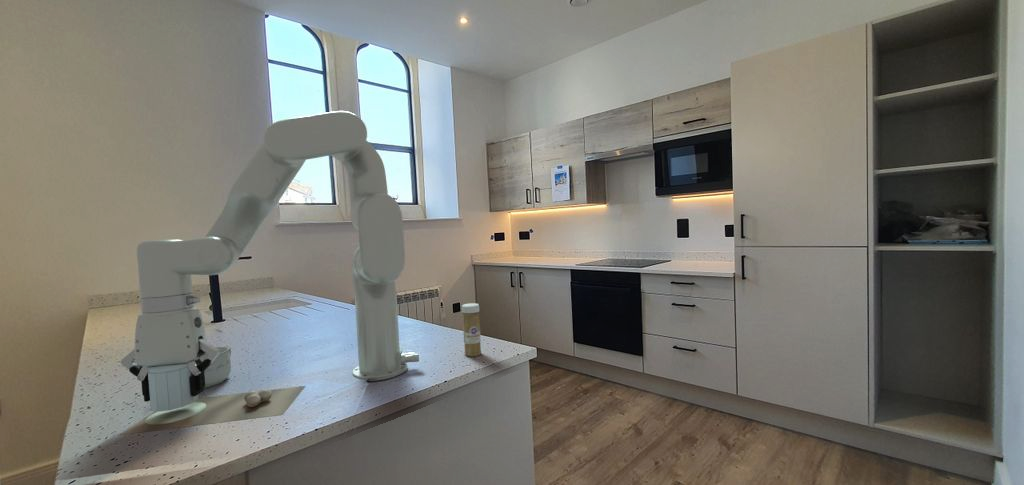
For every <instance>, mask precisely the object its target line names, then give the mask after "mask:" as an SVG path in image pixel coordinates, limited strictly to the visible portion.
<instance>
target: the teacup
mask: <svg viewBox="0 0 1024 485" xmlns="http://www.w3.org/2000/svg"><path fill="white" fill-rule="evenodd" d="M215 347H216V348H218V349H219V350H220V351H221V352H220V354H219V355H218V356H217V357H216V359H215V360H214V361H213V363H212V364H211V365H210V366H209V367H208V368H207V369H206V370H205V371H204V374H205V388H204V389H206V388H211V387H214V386H217V385H218V384H221V383H223V382H224V381H225V380H226V379H227V378H228V377H229V376H230V374H231V371H232V363H231V362H232V361H231V355H232V349H231V347H230V346H229V345H228V344H222V345H219V346H215ZM207 356H208V354H205V355H203V356H201V359H202V360H203V361H204V360H205V359H206V357H207Z"/></svg>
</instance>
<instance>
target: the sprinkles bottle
mask: <svg viewBox="0 0 1024 485" xmlns="http://www.w3.org/2000/svg"><path fill="white" fill-rule="evenodd" d="M461 310H462V311H461V312H462V319H463V324H462V326H463V327H462V328H463V330H462V331H463V343H464V355H465V356H466V357H477V356H480V355H481V354H482V351H481V350H482V349H481V347H482V346H481V323H480V305H479V303H473V302H472V303H465V304H462V305H461Z"/></svg>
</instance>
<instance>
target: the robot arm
mask: <svg viewBox="0 0 1024 485" xmlns="http://www.w3.org/2000/svg"><path fill="white" fill-rule="evenodd" d="M262 138H263V140H262V142H261V144H260V145H259V147H258V148H257V150H256V151H255V152H254V153H253V156H252V157H251V158H250V160H249V161H248V162H247V164H246V166H245V167H244V168H243V170H242V171H241V172H240V174H239V175H238V176H237V177H236V179H234V180H235V181H234V182H233V184H232V186H231V188H230V189H229V193H228V197H227V200H226V202H225V206H224V207H223V209H222V211H221V213H220V214H219V216H217V219H216V220H215V222H214V224H213V225H212V226H211V227H210V230H209V231H208V232H207V233H206V235H205V236H203V237H199V238H192V239H175V238H174V239H149V240H143V241H141V242H139V243H138V245H137V247H136V256H137V258H136V259H137V272H138V283H139V285H138V286H139V295H140V296H139V297H140V308H141V313H139V314H138V315H137V320H136V324H135V331H134V333H135V334H134V349H132V351H130V352H129V353H128V354H127V355H126V356H124V357H123V358H122V359H121V360H120V364H121V365H123V367H125V368H126V369H127V370H129V372H130V373H131V374H132V375H134V376H135V377H136V380H137V381H139V382H141V393H142V396H143V401H144V403H145V402H150V393H149V380H148V367H152V366H163V365H173V364H183V363H185V364H187V363H188V368H189V369H190V371H191V372H192V374H193V375H192V376H190V378H189V379H190V392H191V396H192V397H193V396H197V395H200V394H201V393H202V392H204V391H205V390H204V389H206V388H205V374H204V371H205V370H206V369H207V368H208V367H209V366H210V365H211V364H212V363H213V361H214V360H215V359H216V357H217V356H218V355H219V354H220V352H221V351H220V350H219V349H218V348H216V347H217V346H215V345H213V344H211V343H210V342H208V339H207V338H208V337H207V334H206V329H205V324H204V320H203V317H202V313H201V311H200V308H199V307H194V306H195V305H196V304H199V303H200V302H201V297H200V296H199V295H197V296H196V295H194V292H193V284H192V276H215V275H217V276H218V275H221V274H223V273H226V272H227V271H229V270H230V269H231V268H232V267H233V266H235V264H236V263H237V262H238V260H239V259H240V257H241V255H242V254H243V252H244V251H245V250H246V248H247V246H248V245H249V243H250V242H251V240H252V239H253V237H254V236H255V234H256V233H257V231H258V230H259V229H260V227H261V226H262V224H263V223H264V221H265V220H266V219H267V218H268V217H269V216H270V215H271V214H272V212H273V211H274V209H275V207H276V206H277V204H279V201H280V200H281V199H282V197H283V196H284V194H285V193H286V191H287V189H288V188H289V186H290V185H291V183H292V181H293V180H294V179H295V177H296V176H297V174H298V173H299V171H300V170H301V169H302V167H303V165H304V164H305V163H306V160H311V159H317V158H323V157H329V156H330V157H332V158H334V159H336V160H338V161H339V162H340V163H341V164H342V166H343V167H344V169H345V171H346V174H347V179H348V187H349V205H350V216H349V218H350V221H351V224H352V226H353V228H354V229H355V230H356V231H357V232H358V247H356V249H354V251H353V253H352V256H351V260H350V271H351V277H352V284H353V296H354V307H355V310H354V311H355V323H356V324H355V326H356V339H357V340H356V342H357V356H358V366H355V367H354V368H353V369H352V372H351V374H352V376H353V377H354V378H357V379H361V380H362V379H364V380H366V382H377V381H384V380H388V379H391V378H395V377H398V376H400V375H401V374H403V373H404V372H406V371H407V370H408V363H420V353H415V352H403V348H402V347H400V336H399V335H400V332H399V319H398V318H399V317H398V316H399V314H398V297H397V288H396V282H395V281H396V280H397V279H398V278H400V277H401V275H402V273H403V271H404V268H405V264H406V263H405V261H406V254H405V253H406V252H405V237H404V236H405V234H404V222H403V214H402V210H401V208H400V207H401V206H400V205H399V203H398V202H397V201H396V199H395V198H394V197H392V196H391V195H389V192H388V190H389V189H388V183H387V174H386V168H385V164H384V162H383V159H382V157H381V155H380V153H379V152H378V151H377V149H375V147H374V146H373V145H372V144H371V143H370V142H369V141H368V140H367V138H368V128H367V125H366V124H365V122H364V121H363V120H362V119H361V117H360V116H358V115H356V114H355V113H352V112H350V111H345V110H337V111H330V112H323V113H317V114H312V115H311V114H310V115H304V116H299V117H292V118H291V117H290V118H286V119H281V120H277V121H276V122H273V123H271V124H270V125H268V127H267V128H266V129H265V131H264V134H263V137H262ZM205 354H208V356H207V357H206V359H205V360H204V361H203V360H202V359H201V356H203V355H205Z"/></svg>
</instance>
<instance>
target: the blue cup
mask: <svg viewBox="0 0 1024 485" xmlns="http://www.w3.org/2000/svg"><path fill="white" fill-rule="evenodd" d="M192 375H193V374H192V372H191V371H190V369H189V368H188V363H187V364H185V363H183V364H173V365H163V366H152V367H148V380H149V393H150V401H149V403H150V405H149V406H150V411H151V412H155V411H156V412H160V411H169V410H173V409H177V408H181V407H184V406H187V405H189V404H192V403H194V402H195V401H196V400H198V399H199V398H200V397H199V395H200V394H198V395H197V396H193V397H192V396H191V392H190V379H189V378H190V376H192Z"/></svg>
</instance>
